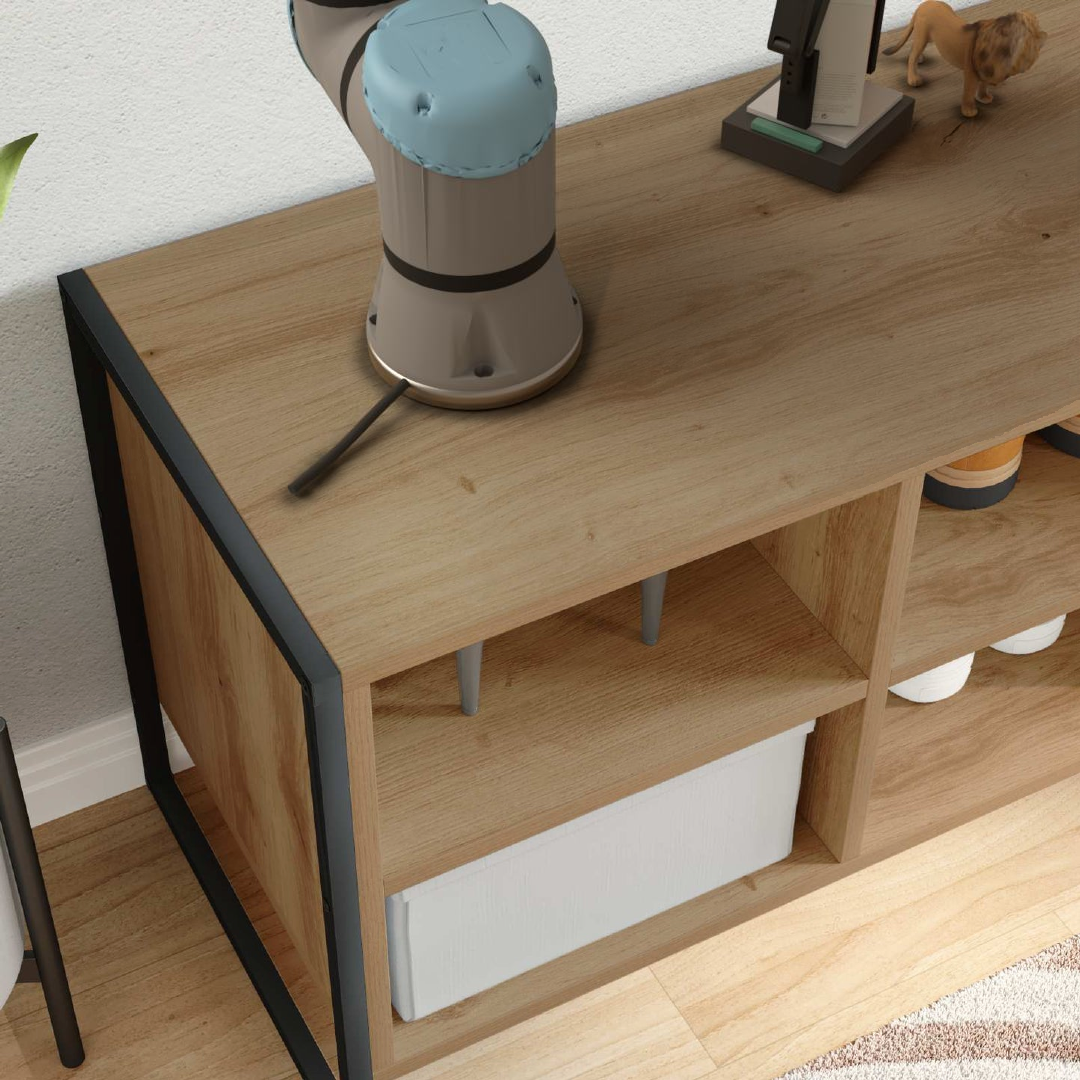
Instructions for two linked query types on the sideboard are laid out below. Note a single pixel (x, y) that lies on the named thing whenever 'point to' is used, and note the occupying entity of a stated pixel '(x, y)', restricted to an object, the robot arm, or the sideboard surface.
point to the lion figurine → (974, 47)
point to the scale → (817, 135)
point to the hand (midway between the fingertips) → (826, 94)
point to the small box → (843, 61)
